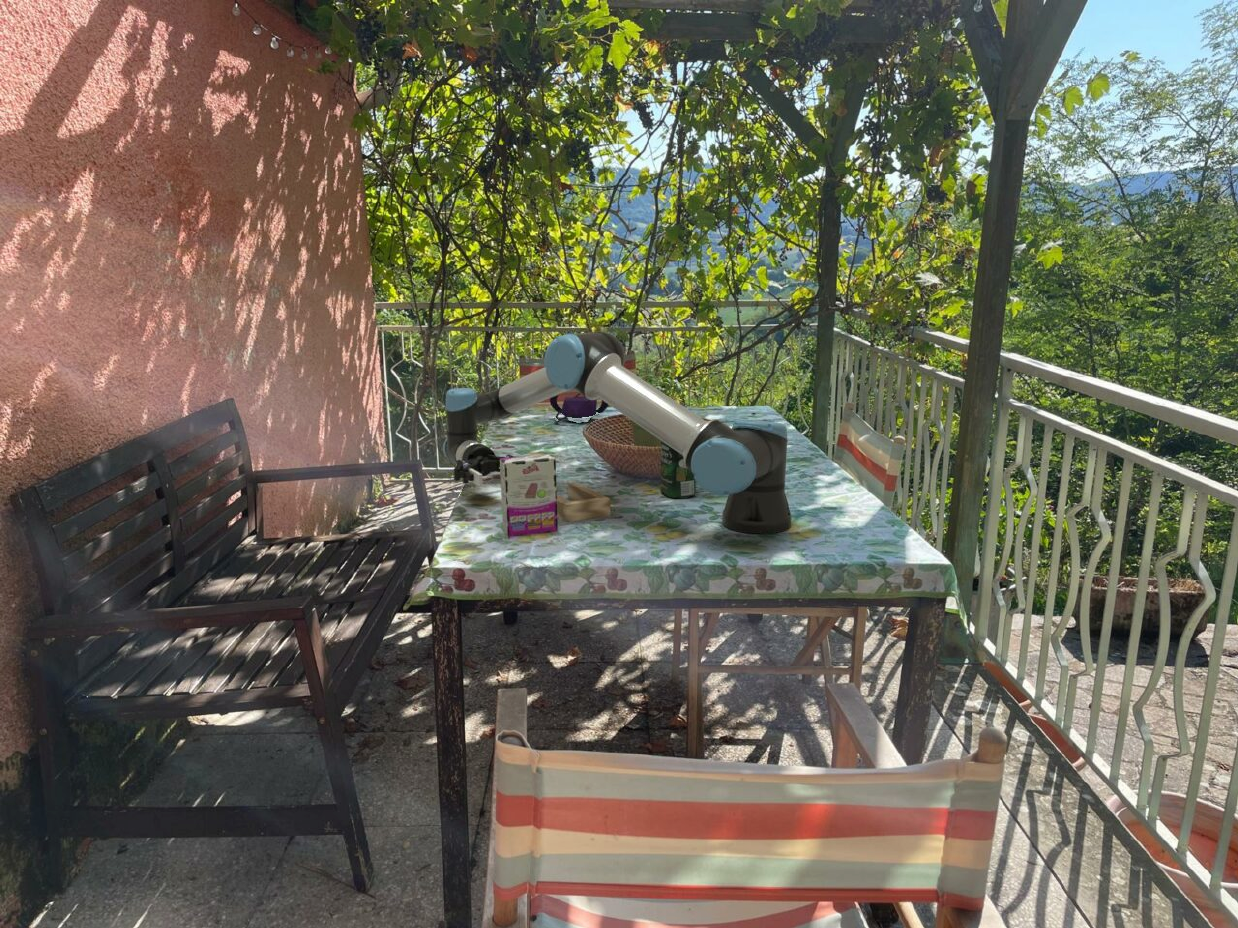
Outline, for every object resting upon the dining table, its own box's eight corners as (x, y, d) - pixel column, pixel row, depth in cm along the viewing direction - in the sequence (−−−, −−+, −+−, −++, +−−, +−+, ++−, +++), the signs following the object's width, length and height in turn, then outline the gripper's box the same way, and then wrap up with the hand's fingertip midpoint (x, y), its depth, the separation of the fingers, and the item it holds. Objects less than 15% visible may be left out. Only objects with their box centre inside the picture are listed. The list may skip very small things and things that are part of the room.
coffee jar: (655, 490, 215) (656, 418, 211) (684, 488, 217) (685, 417, 213) (670, 500, 206) (671, 425, 202) (699, 497, 208) (701, 423, 204)
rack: (575, 497, 206) (575, 482, 206) (610, 515, 192) (610, 498, 191) (534, 503, 201) (533, 487, 200) (566, 522, 186) (566, 505, 185)
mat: (582, 497, 209) (582, 495, 208) (623, 517, 192) (623, 515, 192) (522, 505, 201) (522, 504, 201) (559, 527, 184) (559, 525, 184)
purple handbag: (612, 417, 322) (612, 351, 316) (606, 427, 301) (606, 357, 296) (554, 416, 324) (553, 351, 318) (544, 426, 303) (542, 356, 298)
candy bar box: (551, 526, 185) (550, 453, 181) (558, 532, 180) (557, 457, 177) (501, 532, 181) (499, 457, 177) (507, 538, 176) (505, 462, 173)
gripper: (524, 468, 212) (561, 486, 194) (426, 479, 200) (456, 500, 182) (523, 438, 210) (560, 454, 192) (425, 448, 198) (455, 466, 180)
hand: (510, 477), depth 187 cm, fingers open, 13 cm apart
